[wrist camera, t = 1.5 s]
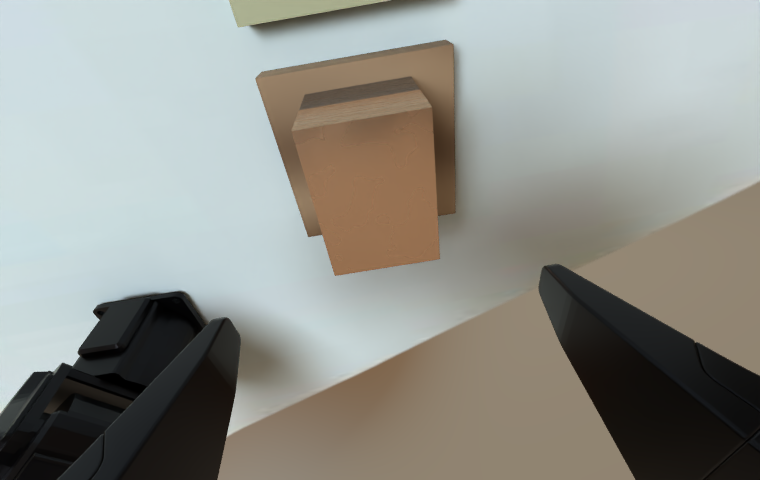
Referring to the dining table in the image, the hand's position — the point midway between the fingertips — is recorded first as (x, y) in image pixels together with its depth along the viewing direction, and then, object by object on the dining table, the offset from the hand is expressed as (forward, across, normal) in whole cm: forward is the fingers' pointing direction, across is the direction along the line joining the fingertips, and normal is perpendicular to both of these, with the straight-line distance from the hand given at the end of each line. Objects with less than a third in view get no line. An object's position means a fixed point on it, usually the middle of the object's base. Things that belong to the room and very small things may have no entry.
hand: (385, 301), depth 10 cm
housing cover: (+8, 0, 0) cm, 8 cm away
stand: (+12, 0, 0) cm, 12 cm away
